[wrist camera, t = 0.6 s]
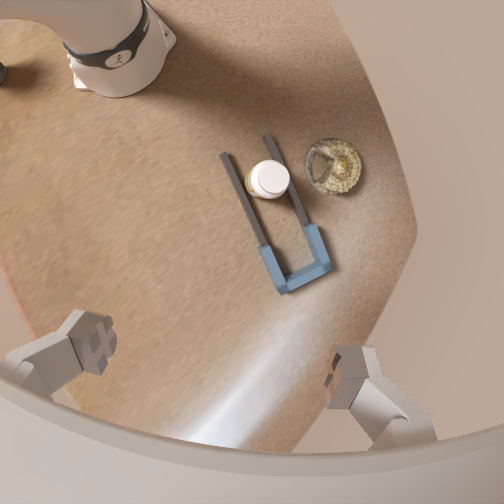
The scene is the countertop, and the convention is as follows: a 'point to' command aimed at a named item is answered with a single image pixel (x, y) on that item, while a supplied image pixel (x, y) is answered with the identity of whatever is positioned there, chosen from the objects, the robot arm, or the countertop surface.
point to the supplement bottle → (267, 180)
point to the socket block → (305, 273)
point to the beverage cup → (2, 72)
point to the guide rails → (243, 197)
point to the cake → (335, 166)
